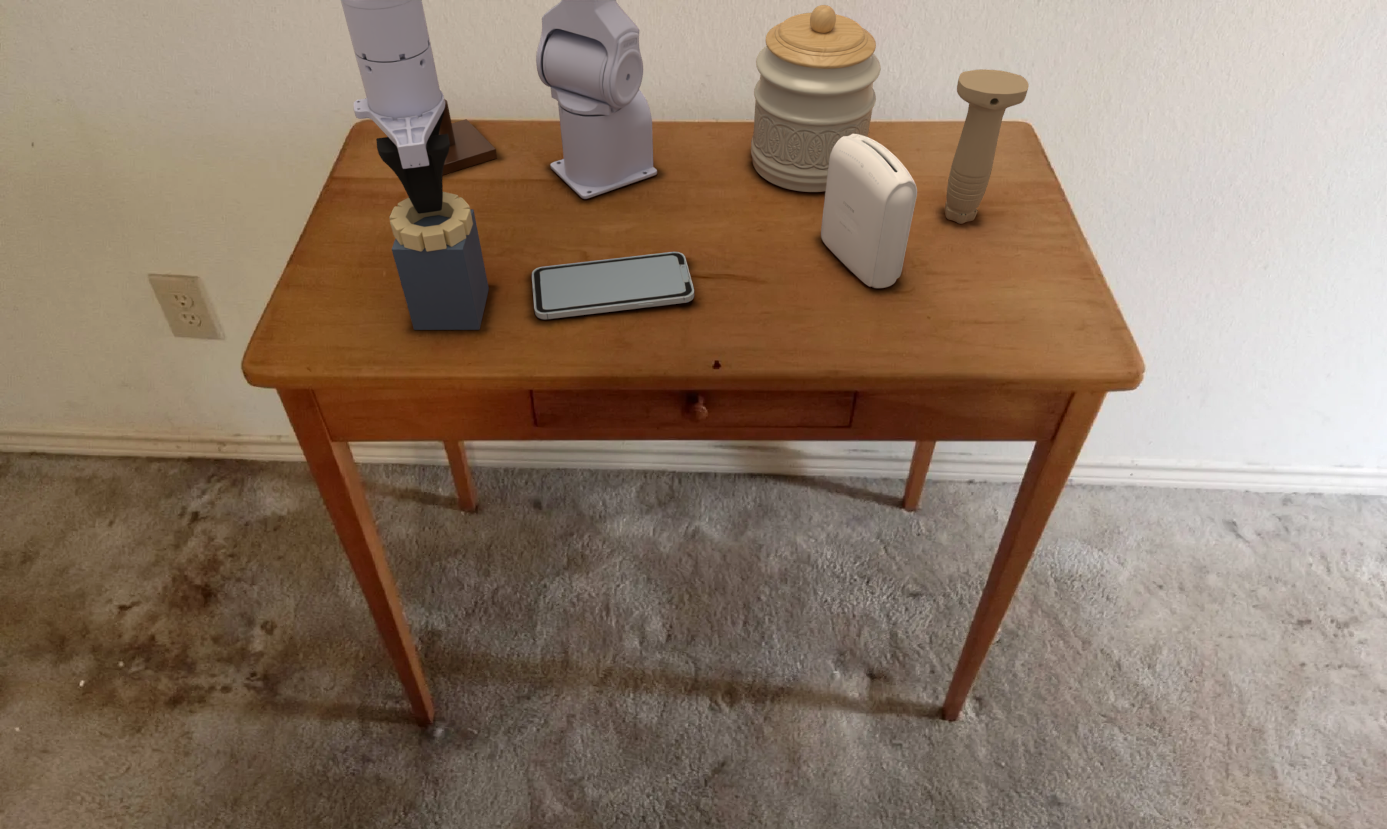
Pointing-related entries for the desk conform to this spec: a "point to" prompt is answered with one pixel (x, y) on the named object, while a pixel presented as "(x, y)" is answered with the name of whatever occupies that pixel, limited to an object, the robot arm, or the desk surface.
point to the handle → (979, 137)
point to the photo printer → (868, 209)
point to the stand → (464, 144)
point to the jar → (811, 96)
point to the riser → (444, 282)
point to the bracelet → (432, 235)
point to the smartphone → (611, 285)
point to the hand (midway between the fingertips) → (427, 198)
